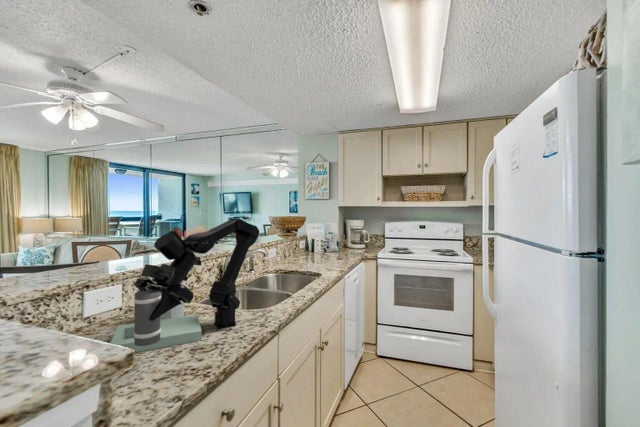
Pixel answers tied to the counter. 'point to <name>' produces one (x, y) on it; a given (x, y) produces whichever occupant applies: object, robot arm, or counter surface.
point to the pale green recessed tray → (163, 333)
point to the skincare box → (174, 311)
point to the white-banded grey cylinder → (146, 318)
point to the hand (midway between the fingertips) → (142, 318)
